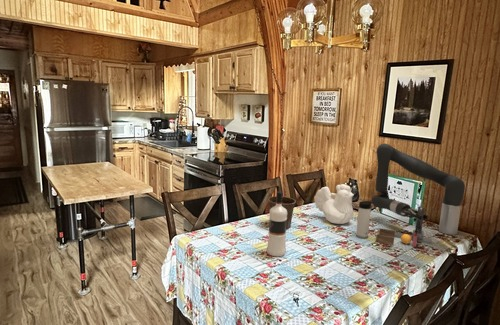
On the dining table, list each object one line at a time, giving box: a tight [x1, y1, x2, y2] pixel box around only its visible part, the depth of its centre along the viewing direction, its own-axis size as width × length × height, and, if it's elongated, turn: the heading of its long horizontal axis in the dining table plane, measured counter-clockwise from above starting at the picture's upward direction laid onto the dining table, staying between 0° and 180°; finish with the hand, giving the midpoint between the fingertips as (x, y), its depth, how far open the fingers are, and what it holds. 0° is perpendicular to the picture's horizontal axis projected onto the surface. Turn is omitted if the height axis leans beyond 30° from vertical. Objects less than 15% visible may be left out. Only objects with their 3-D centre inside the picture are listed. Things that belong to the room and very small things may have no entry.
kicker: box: [411, 206, 426, 247], centre depth 169 cm, size 14×5×18 cm, turn 154°
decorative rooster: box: [314, 183, 355, 225], centre depth 199 cm, size 25×16×25 cm, turn 39°
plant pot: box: [267, 195, 297, 230], centre depth 187 cm, size 16×16×16 cm
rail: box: [394, 231, 433, 245], centre depth 176 cm, size 5×23×1 cm, turn 64°
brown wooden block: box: [375, 227, 396, 246], centre depth 173 cm, size 12×8×4 cm
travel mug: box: [355, 200, 373, 239], centre depth 175 cm, size 6×7×20 cm
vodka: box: [266, 191, 287, 257], centre depth 150 cm, size 9×9×30 cm
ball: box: [400, 233, 412, 245], centre depth 169 cm, size 5×5×5 cm
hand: (424, 217), depth 170 cm, fingers closed on kicker, 3 cm apart
